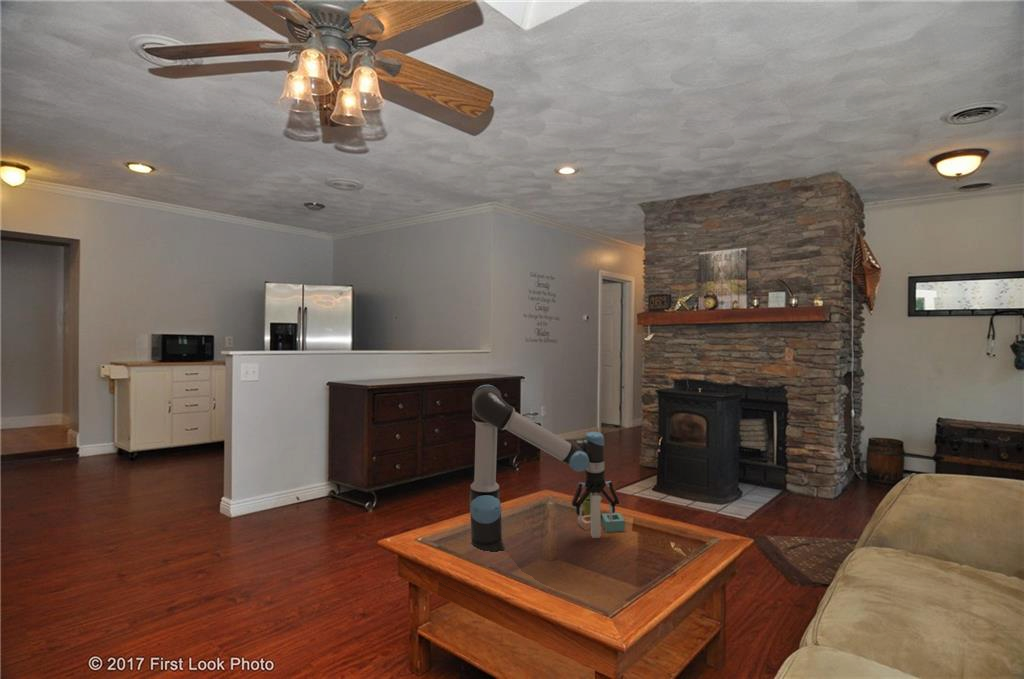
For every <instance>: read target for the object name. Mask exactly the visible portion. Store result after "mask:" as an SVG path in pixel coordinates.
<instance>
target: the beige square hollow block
mask: <svg viewBox="0 0 1024 679" xmlns="http://www.w3.org/2000/svg"><path fill="white" fill-rule="evenodd" d="M576 519H577V520H576V522H577V523H576V524H577V525H578V526H580V528H582V529H583V530H585V531H588V530H590V531H591V514H590V515H585V516H584V515H582V523H580V522H579V516H577V518H576Z"/></svg>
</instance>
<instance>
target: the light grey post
mask: <svg viewBox="0 0 1024 679" xmlns="http://www.w3.org/2000/svg"><path fill="white" fill-rule="evenodd" d="M600 494H601V493H597V492H595V493H590V504H591V529H590V535H591V538H592V539H600V538H601V535H602V534H601V532H602V530H601V525H602V516H601V502H600V496H601V495H600Z"/></svg>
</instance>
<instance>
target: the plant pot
mask: <svg viewBox="0 0 1024 679" xmlns="http://www.w3.org/2000/svg"><path fill="white" fill-rule="evenodd" d="M602 499H603V498H602V496H601V495H600V503H601V501H602ZM582 509H583V510H582V511H583V514H584V515H583V516H585V515H590V514H591V504H590V494H589V495H588V496H587V498H586V499H585V500H584V502H583V503H582Z"/></svg>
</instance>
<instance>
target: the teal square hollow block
mask: <svg viewBox="0 0 1024 679" xmlns="http://www.w3.org/2000/svg"><path fill="white" fill-rule="evenodd" d="M612 521H613V522H611V521H610V519H609V512H608V513H607V512H606V513H601V525H602V527H603V529H604V532H605V533H614V532H615V533H616V532H625V531H626V530H625V529H626V523H625V522H626V521H625V518H624V517H623V515H622V514H621V513H620V512H615V513H612Z"/></svg>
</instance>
